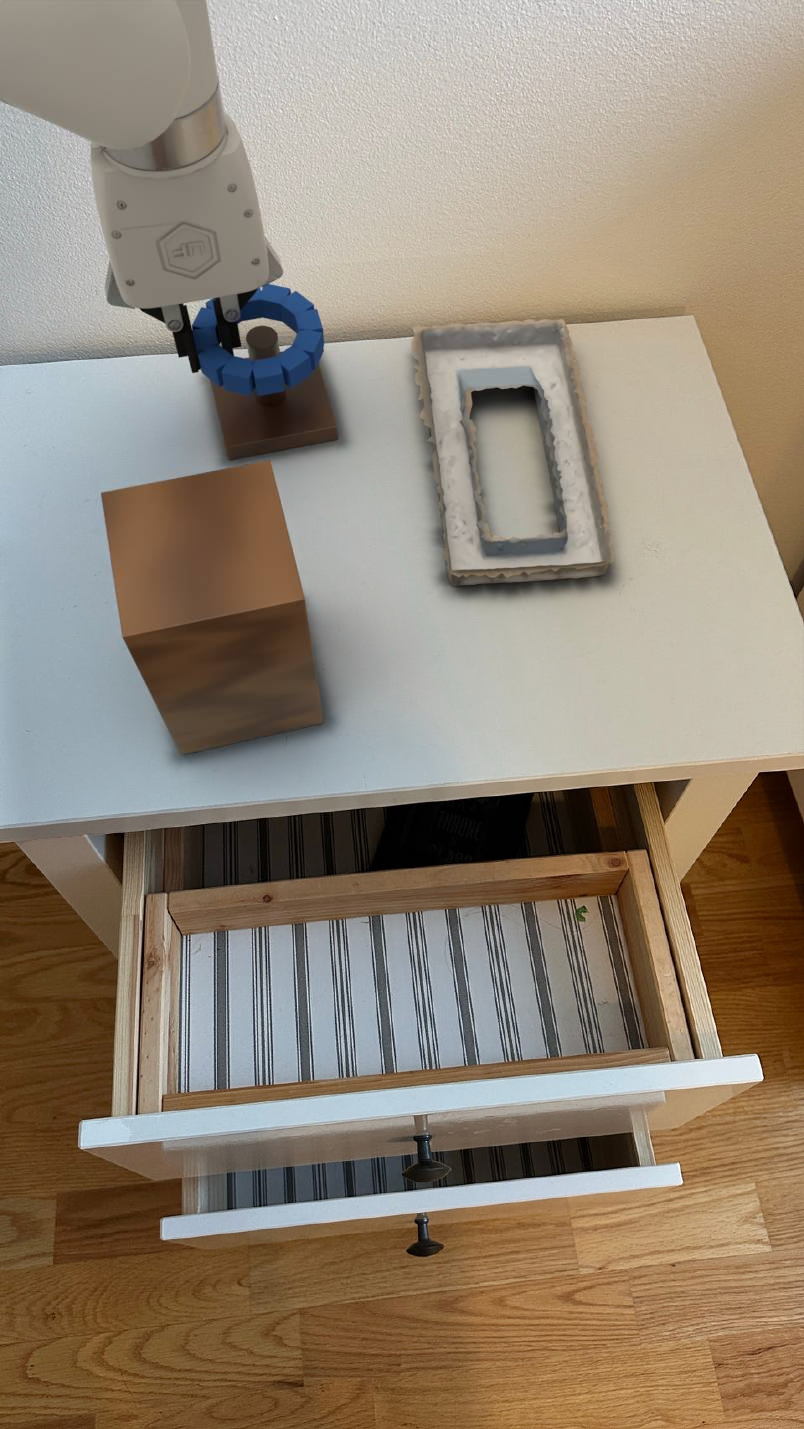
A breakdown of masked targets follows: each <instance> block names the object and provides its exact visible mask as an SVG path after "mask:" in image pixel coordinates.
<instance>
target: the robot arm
mask: <svg viewBox="0 0 804 1429" xmlns="http://www.w3.org/2000/svg"><path fill="white" fill-rule="evenodd" d="M207 3H208V2H207V0H0V102H1V103H3V104H6V105H8V106H10V107H12V108H15V109H19V110H21V111H22V112H25V113H28V114H29V115H32V116H34V117H36V118H39V119H41V120H44V121H46V122H48V123H51V124H53V125H55V126H57V127H59V128H61V129H64V130H66V131H68V132H70V133H71V134H74V135H76V136H79V137H81V138H83V139H85V140H87V141H89V142H90V168H91V169H90V170H91V178H92V179H91V180H92V186H93V192H94V198H95V202H96V208H97V214H98V217H99V222H100V225H101V231H102V234H103V238H104V242H105V246H106V250H107V255H108V258H109V261H108V267H107V272H106V277H105V284H104V292H105V297H106V302H107V303H108V304H109V305H110V306H112V307H119V308H126V309H132V310H135V309H139V310H140V311H141V312H142V313H144V314H146V315H148V316H150V317H152V318H154V319H156V320H158V321H159V322H161V323H163V324H165V327H166V329H167V330H168V331H169V332H172V337H173V341H174V344H175V348H176V352H177V356H178V358H180V359H181V358H186V357H187V358H188V362H189V366H190V371H191V374H196V373H199V371H202V370H201V367H200V363H199V358H198V354H197V350H196V345H195V341H194V336H193V331H192V323H191V319H190V313H189V309H188V306H187V303H193V302H200V301H205V300H211V299H212V298H215V300H212V301H213V306H214V311H215V316H216V321H217V326H218V331H219V336H220V340H221V343H220V346H221V347H223V350H224V349H225V350H226V351H227V352H229V353H230V354H231V355H232V356H235V352H234V349H237V348H242V341H241V336H240V328H239V324H238V323H237V320H238V319H239V318H240V310H241V309H242V308H243V307H244V306H245V305H246V303H247V302H248V301H249V300H250V299H251V298H252V296H253V295H254V294H255V293H256V291H257V289H258V288H259V287H260V288H263V287H264V286H266V285H268V284H271V283H273V282H275V281H277V280H279V279H280V278H282V276H284V270H283V265H282V262H281V259H280V257H279V255H278V254H277V252H276V251H275V249H274V248H273V246H272V245H271V243H270V241H269V240H268V238H267V237H266V236H265V235H266V234H265V231H264V230H265V229H264V224H263V219H262V214H261V208H260V203H259V198H258V194H257V189H256V184H255V180H254V176H253V171H252V168H251V167H252V166H251V163H250V160H249V158H248V153H247V151H246V148H245V145H244V142H243V140H242V136H241V135H240V132H239V130H238V128H237V126H236V123H235V121H234V120H233V118H232V117H231V116H230V115H229V114H228V113H227V112H226V111H224V105H223V98H222V92H221V86H220V79H219V76H218V75H219V74H218V68H217V61H216V56H215V48H214V42H213V36H212V28H211V22H210V16H209V10H208V4H207Z"/></svg>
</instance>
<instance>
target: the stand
mask: <svg viewBox="0 0 804 1429" xmlns="http://www.w3.org/2000/svg"><path fill="white" fill-rule="evenodd" d="M100 497H101V503H102V510H103V517H104V524H105V530H106V538H107V544H108V551H109V557H110V565H111V571H112V577H113V585H114V592H115V597H116V605H117V612H118V617H119V624H120V631H121V637H122V639H123V641H124V643H125V645H126V647H127V649H128V652H129V653H130V656H131V657H132V659H133V662H134V664H135V666H136V668H137V670H138V672H139V674H140V676H141V678H142V680H143V682H144V684H145V685H146V686H145V687H146V688H147V690H148V692H149V694H150V696H151V698H152V701H153V702H154V704H155V706H156V708H157V710H158V712H159V714H160V716H161V718H162V720H163V723H165V726H166V728H167V730H168V733H169V734H170V736H171V738H172V740H173V742H174V744H175V746H176V749H177V751H178V752H179V755H180V756H182V755H187V754H193V753H197V752H202V751H206V750H210V749H215V748H218V747H224V746H228V745H232V744H237V743H241V742H246V741H250V740H254V739H255V740H256V739H259V738H263V737H269V736H272V735H278V734H281V733H286V732H290V731H295V730H299V729H304V728H309V727H313V726H317V725H321V724H322V725H323V724H324V715H323V708H322V703H321V702H322V701H321V697H320V689H319V683H318V676H317V670H316V669H317V668H316V663H315V655H314V649H313V642H312V637H311V629H310V623H309V616H308V612H307V611H308V609H307V605H306V604H307V603H306V598H305V594H304V590H303V585H302V582H301V578H300V573H299V570H298V569H299V568H298V565H297V561H296V557H295V553H294V550H293V549H294V548H293V545H292V542H291V537H290V534H289V529H288V526H287V525H288V524H287V521H286V517H285V513H284V509H283V505H282V500H281V497H280V492H279V489H278V484H277V481H276V476H275V472H274V468H273V465H272V461H271V460H270V459H269V460H264V461H258V462H253V463H248V464H243V465H238V466H237V465H236V466H232V467H227V468H222V469H217V470H211V471H207V472H202V473H195V474H191V475H185V476H179V477H174V478H169V479H165V480H160V481H154V482H147V483H144V484H139V485H132V486H128V487H123V488H118V489H112V490H107V491H103V492H102V491H101V492H100Z"/></svg>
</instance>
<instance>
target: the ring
mask: <svg viewBox="0 0 804 1429" xmlns="http://www.w3.org/2000/svg"><path fill="white" fill-rule="evenodd" d="M212 300H215V298H212V299H208V301H206V302H205V307H204V306H201V307H200V308H199V311H198V313H197V315H196V316H195V318H194V320H193V322H192V323H191V327H192V331H193V336H194V341H195V345H196V350H197V354H198V358H199V363H200V367H201V370H200V371H201V373H202V374H203V375H204V376H205V377H206V378H207V379H209V381H210V380H211V381H212V382H214V383H215V384H216V385H217V386H218V387H222V386H223V385H224V388H225V390H226V391H230V392H235V393H239V394H244V395H248V396H252V394H253V392H254V389H255V387H256V391H257V395H258V396H261V395H267V394H272V393H278V392H283V391H285V384H286V385H287V386H288V387H290V388H293V387H295V386H296V385H297V384H299V383H300V382H302V381H303V380H305V379H306V378H308V377H309V376H310V375H312V371H311V370H316V368H317V366H318V364H319V365H320V361H321V359H322V356H323V354H324V352H325V338H324V327H323V324H322V321H321V317H320V314H319V311H318V310H319V309H317V308H315V304H314V303H313V302H312V301H310V300H309V299H308V298H306V297H305V296H304V295H302V294H301V293H300V292H299V291H297V290H294V291H293V292H292V290H291V288H290V287H287V286H286V287H285V286H279V285H276V284H271V283H269V284H268V285H266V286H264V287H259V288H258V289H257V291H256V293H255V294H254V295H253V296H252V298H251V299H250V300H249V301H248V302H247V303H246V305H245V306H244V307H243V308H242V309H241V310H240V318H239V319H238V320H237V323H238V325H239V324H240V323H243V322H247V321H252V320H258V319H267V320H271V321H276V322H280V323H281V322H282V324H284V325H285V326H286V327H288V328H289V329H290V330H292V331H293V332H294V333H295V334H296V335H295V338H294V339H293V342H292V344H291V345H290V346H289V347H287V348H286V349H284V350H282V351H283V352H282V351H280V352H281V353H280V354H278V355H277V356H275V357H271V358H265V359H259V360H250V359H245V358H246V357H240V356H235V355H234V356H232V355H231V354H230V353H229V352H227V351H226V350H225V349H224V350H223V347H222V345H221V340H220V336H219V331H218V326H217V321H216V316H215V311H214V306H213V301H212Z"/></svg>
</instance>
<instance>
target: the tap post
mask: <svg viewBox="0 0 804 1429" xmlns="http://www.w3.org/2000/svg"><path fill="white" fill-rule="evenodd" d="M245 341H246V348H247V353H248V357H244V358H245V359H250V360H259V359H265V358H271V357H275V356H277V355H278V354H280V353H281V352H283V351H284V350H282V351H281V350H280V349H281V348H280V341H279V334H278V333H277V331H276V329H274V328H273V327H271V326H268V325H258V326H255V327H254V326H253V327H252V328H251V329H249V330H248V331H247V333H246V335H245ZM311 371H312V375H310V376H309V377H308V378H306V379H305V380H303V381H302V382H300V383H299V384H297V385H296V386H295V387H293V388H290V387H288V386H287V385H286V384H285V391H283V392H278V393H272V394H267V395H261V396H258V395H257V391H256V387H255V389H254V392H253V394H252V396H248V395H244V394H239V393H235V392H230V391H226V390H225V388H224V385H223V386H222V387H218V386H217V385H216V384H215V383H214V382H212V381H211V380H210V379H209V381H210V382H209V383H210V386H211V391H212V396H213V399H214V405H215V408H216V409H215V410H216V413H217V418H218V422H219V427H220V432H221V436H222V439H223V445H224V449H225V454H226V459H227V460H228V461H231V460H235V459H242V458H246V457H252V456H256V455H257V456H258V455H262V454H267V453H272V452H277V451H283V450H288V449H294V448H298V447H303V446H310V445H314V444H320V443H324V442H325V443H326V442H330V441H334V440H335V441H337V440H338V439H339V432H338V431H339V430H338V424H337V421H336V417H335V414H334V410H333V406H332V404H331V401H330V400H331V399H330V397H329V394H328V390H327V386H326V383H325V379H324V376H323V372H322V369H321V365H320V363H319V364H318V366H317V368H316V370H311Z"/></svg>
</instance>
